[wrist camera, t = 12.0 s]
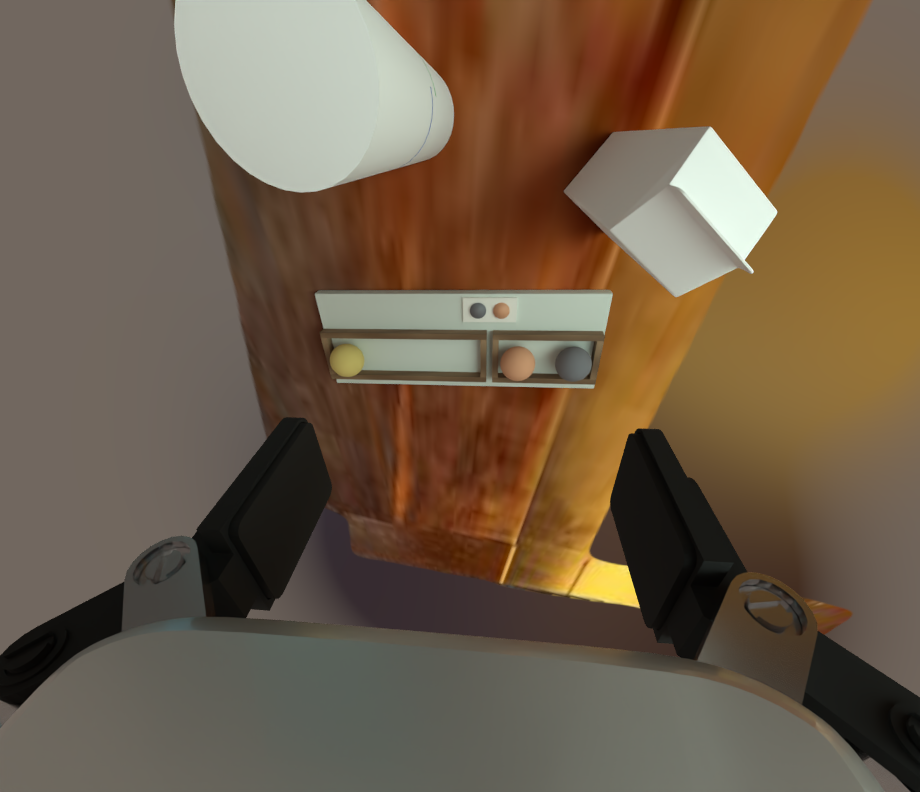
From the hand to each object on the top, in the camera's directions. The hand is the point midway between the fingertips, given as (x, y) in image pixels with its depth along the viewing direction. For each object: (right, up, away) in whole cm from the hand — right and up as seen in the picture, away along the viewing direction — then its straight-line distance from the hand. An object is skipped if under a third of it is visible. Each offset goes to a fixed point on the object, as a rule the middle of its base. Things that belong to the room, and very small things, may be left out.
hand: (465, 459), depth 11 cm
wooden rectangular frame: (+10, +7, +33) cm, 35 cm away
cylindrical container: (-4, +27, +23) cm, 36 cm away
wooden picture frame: (-7, +7, +35) cm, 36 cm away
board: (0, +9, +34) cm, 36 cm away
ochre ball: (-14, +6, +34) cm, 37 cm away
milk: (+14, +22, +24) cm, 35 cm away
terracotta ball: (+6, +6, +32) cm, 33 cm away
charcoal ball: (+13, +6, +31) cm, 34 cm away
